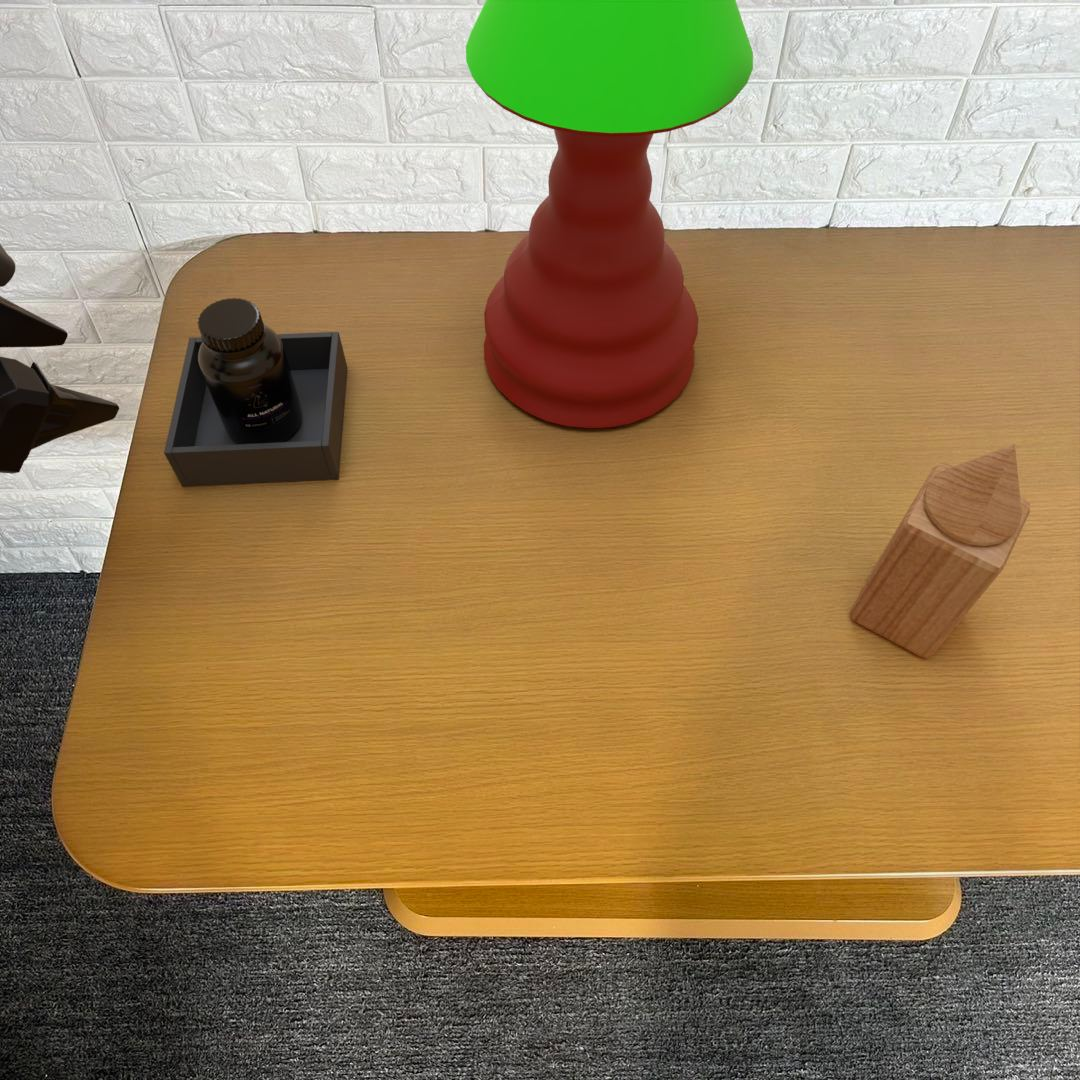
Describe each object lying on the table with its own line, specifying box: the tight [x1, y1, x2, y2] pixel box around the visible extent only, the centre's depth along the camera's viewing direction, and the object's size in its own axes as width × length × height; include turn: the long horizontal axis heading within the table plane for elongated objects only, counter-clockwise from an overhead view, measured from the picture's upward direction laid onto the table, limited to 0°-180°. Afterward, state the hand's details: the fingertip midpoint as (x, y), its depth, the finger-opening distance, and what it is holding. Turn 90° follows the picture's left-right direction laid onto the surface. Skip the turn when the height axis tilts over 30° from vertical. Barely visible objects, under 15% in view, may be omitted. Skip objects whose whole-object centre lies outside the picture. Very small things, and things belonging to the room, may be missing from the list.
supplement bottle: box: [197, 297, 302, 444], centre depth 74 cm, size 7×7×12 cm
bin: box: [163, 331, 348, 487], centre depth 78 cm, size 13×13×4 cm
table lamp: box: [465, 0, 754, 429], centre depth 66 cm, size 20×20×45 cm
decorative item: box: [849, 443, 1031, 659], centre depth 61 cm, size 7×7×20 cm
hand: (90, 373), depth 65 cm, fingers open, 9 cm apart
